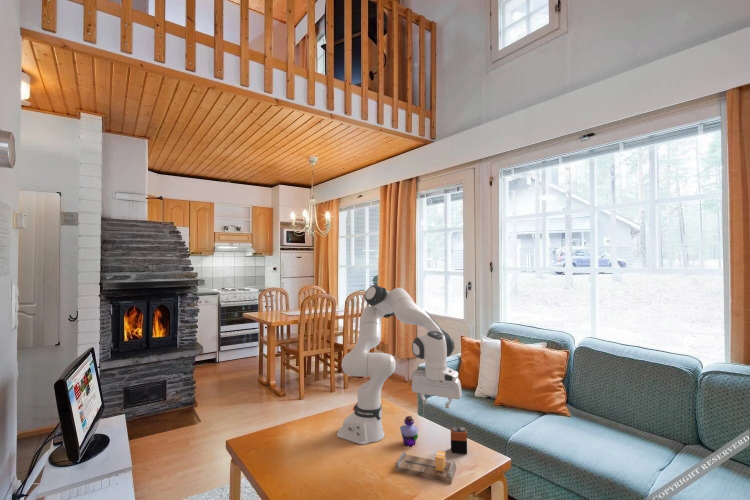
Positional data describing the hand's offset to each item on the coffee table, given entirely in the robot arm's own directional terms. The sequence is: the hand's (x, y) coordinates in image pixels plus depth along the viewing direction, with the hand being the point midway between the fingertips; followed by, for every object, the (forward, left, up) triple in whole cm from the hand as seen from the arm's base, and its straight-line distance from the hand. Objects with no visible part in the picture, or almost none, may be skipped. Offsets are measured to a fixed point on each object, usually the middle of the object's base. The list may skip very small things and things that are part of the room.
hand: (436, 405), depth 152 cm
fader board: (-3, -6, -23) cm, 24 cm away
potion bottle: (-15, +12, -24) cm, 30 cm away
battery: (+7, +13, -24) cm, 28 cm away
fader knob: (+3, -6, -21) cm, 22 cm away
